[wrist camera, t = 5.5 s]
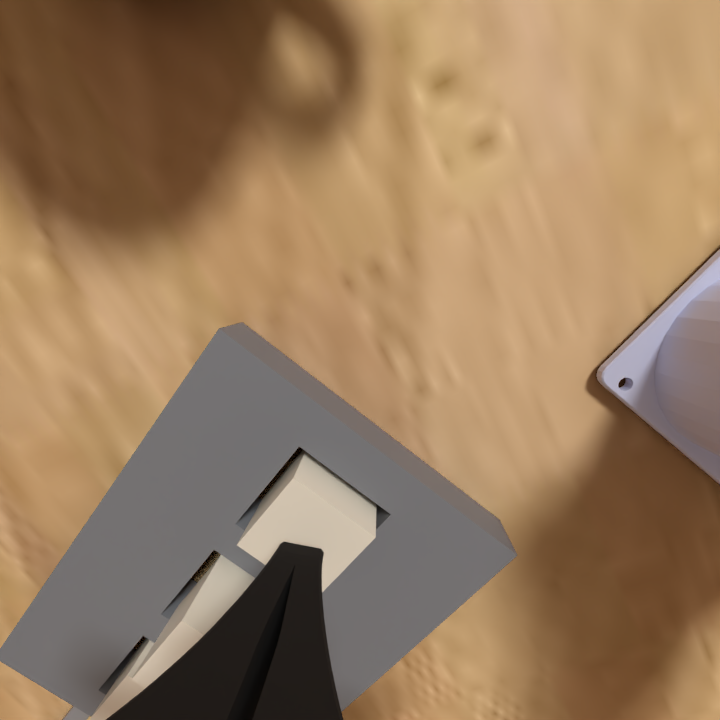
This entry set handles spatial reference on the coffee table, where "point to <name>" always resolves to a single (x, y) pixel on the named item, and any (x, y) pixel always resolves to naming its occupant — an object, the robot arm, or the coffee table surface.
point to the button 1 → (123, 685)
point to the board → (231, 517)
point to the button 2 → (312, 517)
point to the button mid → (194, 617)
